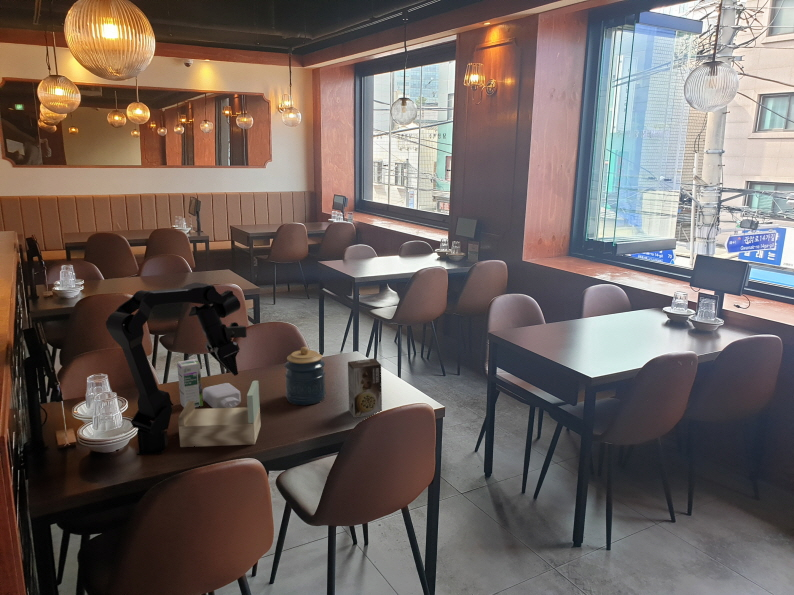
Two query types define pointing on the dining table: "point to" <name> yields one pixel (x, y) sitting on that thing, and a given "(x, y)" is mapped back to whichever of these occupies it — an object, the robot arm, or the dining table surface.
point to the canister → (305, 377)
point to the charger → (222, 396)
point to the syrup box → (190, 382)
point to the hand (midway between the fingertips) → (232, 372)
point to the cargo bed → (216, 426)
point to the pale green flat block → (253, 401)
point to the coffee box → (364, 387)
